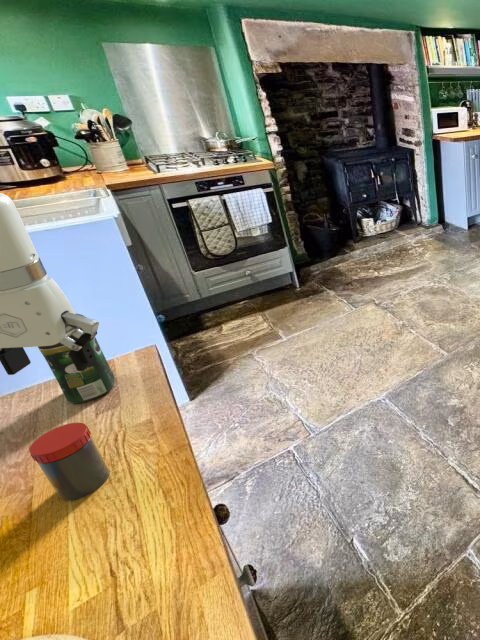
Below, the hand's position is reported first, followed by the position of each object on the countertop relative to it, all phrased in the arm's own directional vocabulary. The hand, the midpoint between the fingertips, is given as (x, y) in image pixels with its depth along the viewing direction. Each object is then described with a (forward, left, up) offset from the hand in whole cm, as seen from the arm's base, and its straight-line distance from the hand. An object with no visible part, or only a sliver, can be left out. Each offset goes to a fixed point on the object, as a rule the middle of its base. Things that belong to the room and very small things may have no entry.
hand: (54, 367), depth 67 cm
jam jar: (-1, -5, -22) cm, 22 cm away
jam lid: (-1, -5, -11) cm, 12 cm away
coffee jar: (-10, +24, -22) cm, 34 cm away
